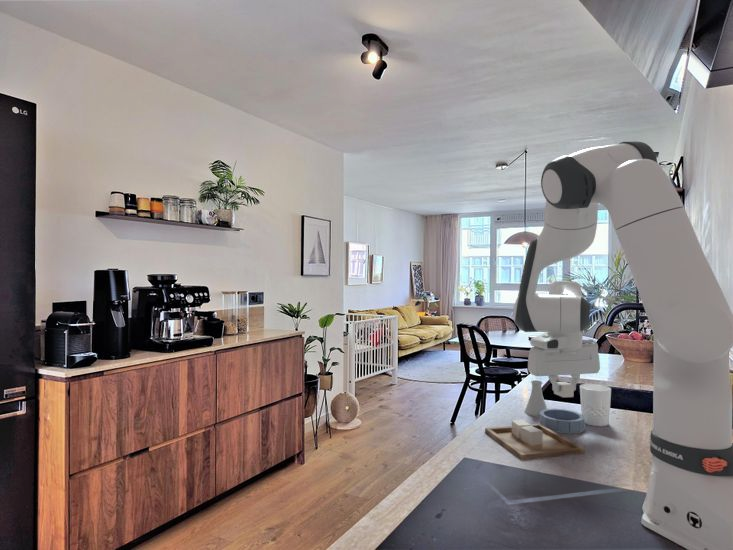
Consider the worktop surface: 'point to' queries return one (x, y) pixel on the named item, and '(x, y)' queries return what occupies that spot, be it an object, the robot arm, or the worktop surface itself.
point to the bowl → (562, 420)
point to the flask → (535, 400)
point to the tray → (523, 450)
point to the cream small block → (518, 427)
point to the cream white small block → (532, 435)
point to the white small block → (565, 390)
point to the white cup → (595, 404)
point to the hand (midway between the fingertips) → (564, 390)
